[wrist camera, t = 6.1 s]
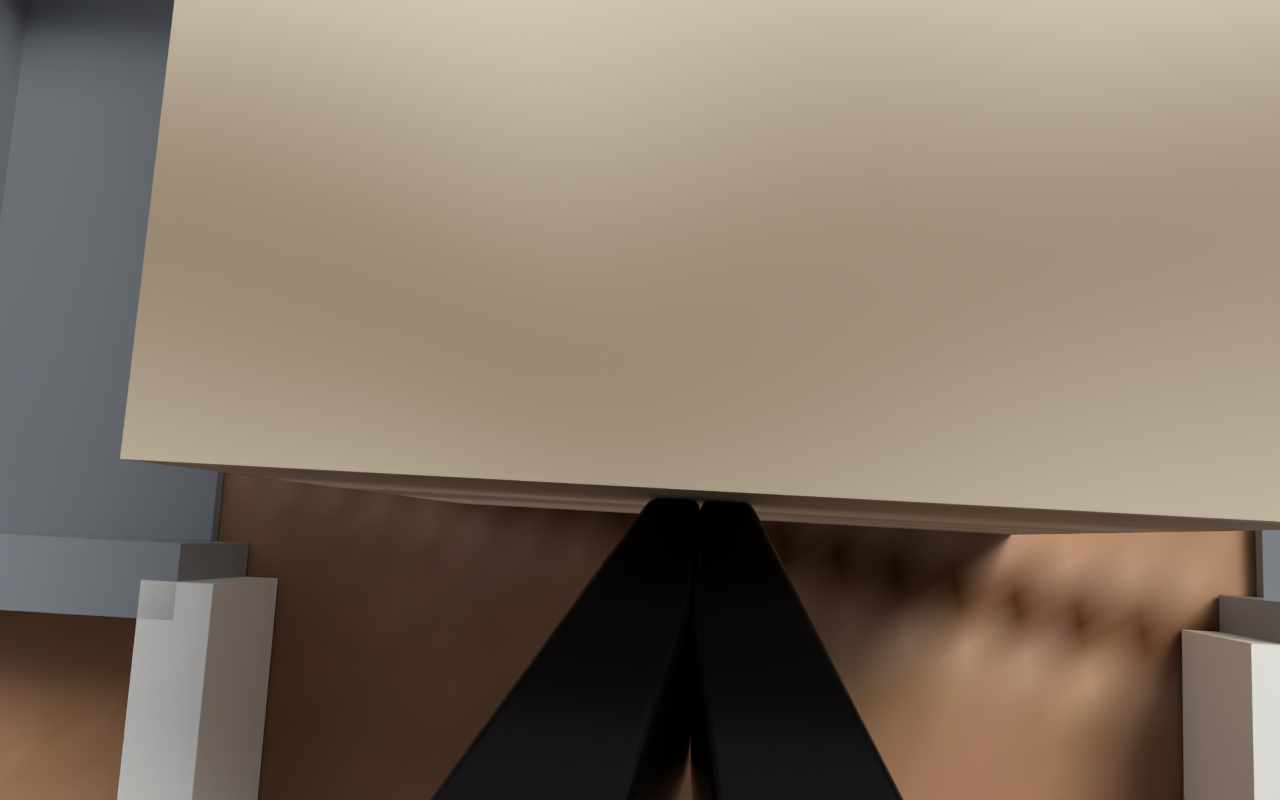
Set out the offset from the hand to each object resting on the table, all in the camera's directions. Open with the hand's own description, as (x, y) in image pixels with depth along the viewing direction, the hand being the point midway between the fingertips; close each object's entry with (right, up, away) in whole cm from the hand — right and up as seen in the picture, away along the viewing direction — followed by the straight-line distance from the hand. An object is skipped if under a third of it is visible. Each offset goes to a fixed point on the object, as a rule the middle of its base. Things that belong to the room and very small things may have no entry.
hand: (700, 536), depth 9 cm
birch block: (+1, +7, +8) cm, 10 cm away
